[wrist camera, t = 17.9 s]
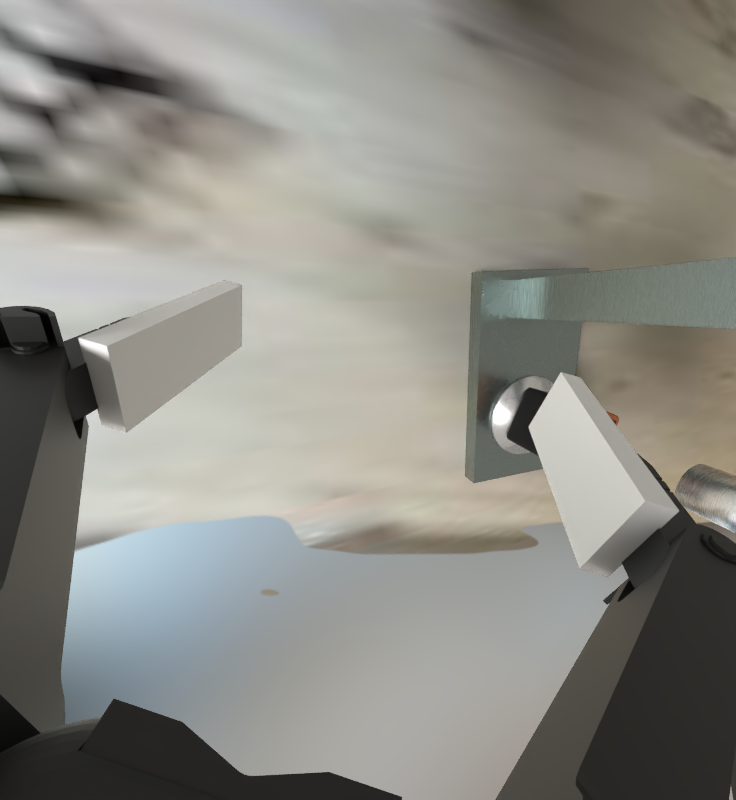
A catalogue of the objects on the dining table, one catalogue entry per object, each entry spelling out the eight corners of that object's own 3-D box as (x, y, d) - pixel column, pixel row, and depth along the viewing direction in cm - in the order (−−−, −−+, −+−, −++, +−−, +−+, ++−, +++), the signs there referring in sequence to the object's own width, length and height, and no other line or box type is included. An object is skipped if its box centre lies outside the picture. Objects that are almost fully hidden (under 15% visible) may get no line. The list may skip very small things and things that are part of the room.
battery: (503, 437, 42) (570, 474, 33) (525, 385, 41) (601, 408, 32) (529, 445, 44) (601, 483, 34) (551, 395, 42) (631, 420, 33)
